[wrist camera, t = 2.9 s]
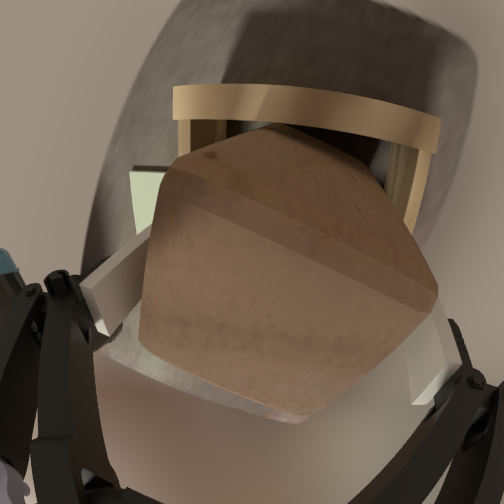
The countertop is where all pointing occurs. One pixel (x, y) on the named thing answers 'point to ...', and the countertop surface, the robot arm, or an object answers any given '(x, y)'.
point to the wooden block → (279, 270)
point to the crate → (316, 115)
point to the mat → (144, 196)
